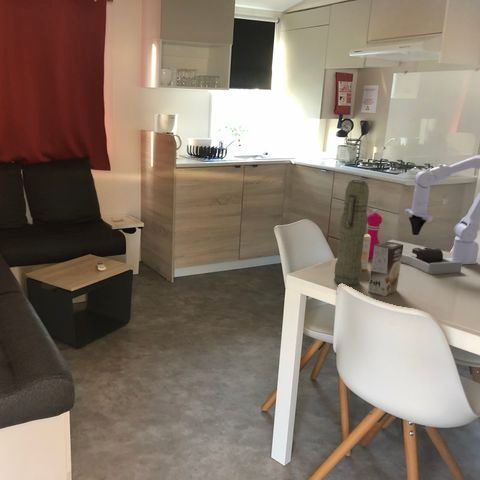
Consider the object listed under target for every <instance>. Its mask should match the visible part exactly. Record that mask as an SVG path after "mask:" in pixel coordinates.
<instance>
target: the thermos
mask: <svg viewBox="0 0 480 480" xmlns="http://www.w3.org/2000/svg"><path fill="white" fill-rule="evenodd" d="M369 194H370V189H369V184H368V183H367V182H366V181H365V180H359V179H357V180H356V179H353V180H350V181H348V183H347V185H346V188H345V192H344V202H343V203H344V207H343V210H342V213H341V215H340V221H339V229H338V231H339V233H340V235H339V243H338V251H337V252H338V253H337V260H336V262H335V265H334V266H335V267H334V272H333V273H334V279H333V281H334V283H336V284H338V285H341V284H340V283H343V284H346V285H348V286H349V287H356V286H358V285H360V279H361V276H362V271H363V270H362V264H361V257H362V248H363V240H364V236H365V234H367V229H368V228H367V225H368V223H367V220H368V218H367V216H368V215H367V210H368V209H367V208H368V207H367V206H368V203H369ZM346 285H345V286H346ZM348 286H347V287H348Z"/></svg>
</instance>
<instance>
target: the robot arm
mask: <svg viewBox="0 0 480 480" xmlns="http://www.w3.org/2000/svg"><path fill="white" fill-rule="evenodd" d="M469 169H479V170H480V154H477V155H474V156H471V157H469V158H466V159H464V160H461V161H459V162H456V163H453V164H451V165H448V164H442V163H440V164H438V165H437V166H435V167H433V168H426V170H425V171H424V170H422V171H418V172H417V173H416V174H415V177H413V180H414V183H415V185H414V190H413V198H412V205H411V208H405V209H404V214H405V215H410V216H409V217H408V220H409V222H410V226H411V234H412V235H413V236H419V235H420V232H421V230H422V228H423V227H424V225H425V223H427V222H433V219H434V216H433V215H430V214H429V213H427V212H428V211H427V210H428V203H429V198H430V191H431V186H432V185H433V184H435V183H439V182H441V181H445V180H447V179H450V178H451V176H452V175H453V174H456V173H460V172H462V171H466V170H469ZM479 229H480V191H479V192H478V194H477V195H476V197H475V199H474V201H473V203H472V205H471V206H470V208H469V210H468V212H467V214H466V215H465V216H464V217H462V218H461V220H460V221H459V222H458V223H456V225H455V226H454V228H453V233H454V234H455V237H454V241H453V247H452V252H451V257H446V258H447V259H449V260H452V261H461V262H462V266H463V265H474V264H475V265H476V264H478V263H479V262H478V261H477V260H478V255H479V244H478V242H477V241H476V239H477V237H478V231H479Z"/></svg>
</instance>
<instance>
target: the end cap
mask: <svg viewBox="0 0 480 480" xmlns="http://www.w3.org/2000/svg"><path fill="white" fill-rule="evenodd" d="M411 253H412V254H414V255H416V256H414V255H411V256H412V257H415V258H417V259H419V260H422V261H424V262H426V263H428V264H429V263H437V262H442V260H443V257H444V254H443V251H442V249H440V248H432V247H430V246H428V247H424V248H420V247H414V248H412V251H411Z"/></svg>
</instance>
